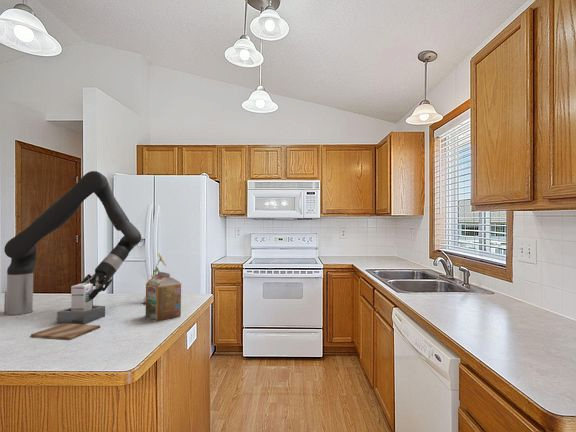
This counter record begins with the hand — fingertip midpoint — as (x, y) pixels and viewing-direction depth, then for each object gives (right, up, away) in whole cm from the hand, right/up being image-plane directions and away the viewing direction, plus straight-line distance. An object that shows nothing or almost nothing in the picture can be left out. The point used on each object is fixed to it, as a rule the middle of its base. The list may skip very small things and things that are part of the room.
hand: (83, 297), depth 141 cm
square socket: (0, -9, -1) cm, 9 cm away
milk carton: (+31, -10, +5) cm, 33 cm away
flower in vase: (+18, -10, +32) cm, 38 cm away
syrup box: (0, -9, -1) cm, 9 cm away
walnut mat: (+4, -9, -17) cm, 19 cm away
